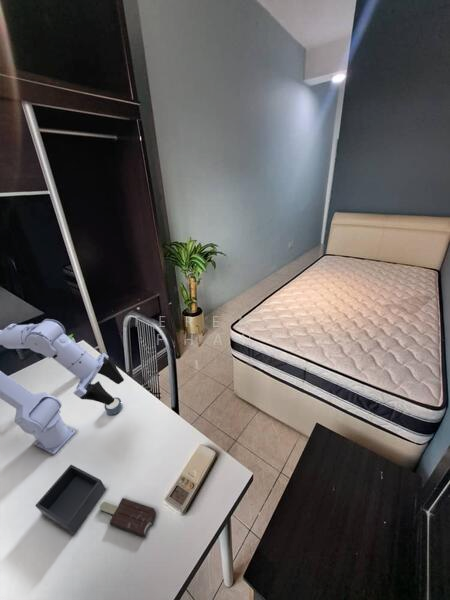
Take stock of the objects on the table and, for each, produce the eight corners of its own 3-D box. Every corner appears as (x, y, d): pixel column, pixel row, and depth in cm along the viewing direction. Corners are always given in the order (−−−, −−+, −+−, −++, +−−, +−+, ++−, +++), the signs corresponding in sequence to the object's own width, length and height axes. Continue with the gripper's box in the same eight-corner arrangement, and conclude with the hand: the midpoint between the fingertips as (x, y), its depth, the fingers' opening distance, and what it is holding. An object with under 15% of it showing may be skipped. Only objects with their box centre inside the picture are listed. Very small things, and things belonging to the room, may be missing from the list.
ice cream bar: (94, 519, 62) (147, 538, 58) (92, 516, 61) (146, 535, 58) (108, 495, 66) (158, 511, 63) (106, 492, 66) (157, 508, 62)
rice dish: (103, 413, 89) (100, 407, 87) (114, 401, 93) (112, 395, 92) (115, 418, 87) (112, 412, 86) (126, 405, 92) (124, 399, 90)
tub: (43, 514, 63) (35, 505, 61) (76, 473, 72) (70, 464, 69) (74, 535, 59) (66, 526, 57) (106, 489, 68) (100, 479, 65)
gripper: (72, 370, 55) (117, 405, 60) (99, 336, 68) (134, 367, 73) (51, 386, 56) (97, 419, 61) (81, 349, 70) (117, 379, 74)
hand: (116, 391), depth 67 cm, fingers open, 7 cm apart
